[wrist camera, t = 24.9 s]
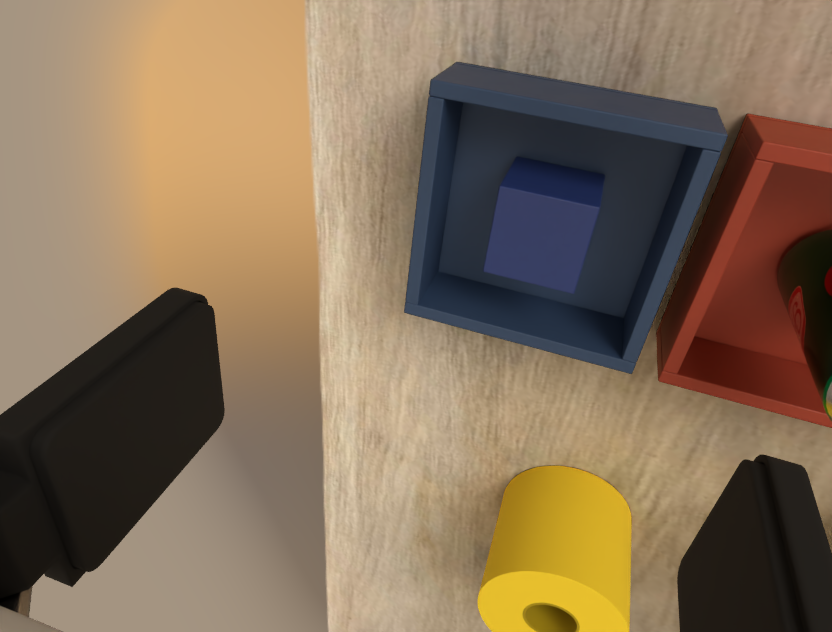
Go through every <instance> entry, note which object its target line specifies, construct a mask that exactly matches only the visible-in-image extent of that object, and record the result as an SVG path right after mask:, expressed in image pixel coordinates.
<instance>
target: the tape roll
mask: <svg viewBox="0 0 832 632" xmlns="http://www.w3.org/2000/svg"><path fill="white" fill-rule="evenodd" d="M631 525H632V518H631V512H630V509H629V506H628V504H627V502H626V501H625V499H624V498H623V496H622V495H621V494H620V493H619V492H618V491H617V490H616V489H615V488H614V487H613V486H611V485H610V484H609V483H607V482H606V481H604V480H603V479H601V478H599V477H597V476H595V475H593V474H591V473H588V472H586V471H583V470H580V469H576V468H571V467H565V466H541V467H536V468H532V469H529V470H526V471H524V472H522V473H520V474H519V475H517V476H516V477H514V478H513V479H512V480H511V481H510V482H509V484H508V485H507V487H506V489H505V492H504V496H503V500H502V504H501V508H500V512H499V516H498V520H497V524H496V528H495V532H494V536H493V540H492V544H491V548H490V552H489V556H488V560H487V564H486V568H485V572H484V576H483V580H482V584H481V588H480V592H479V596H478V609H479V612H480V615H481V617H482V619H483V620H484V622H485V623H486V625H487V626H488V627H489V628H490V630H491V631H492V632H629V624H630V575H631Z"/></svg>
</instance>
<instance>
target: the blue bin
mask: <svg viewBox="0 0 832 632" xmlns="http://www.w3.org/2000/svg"><path fill="white" fill-rule="evenodd" d="M429 95H430V96H429V98H428V107H427V115H426V124H425V133H424V142H423V151H422V160H421V168H420V177H419V186H418V195H417V204H416V213H415V221H414V230H413V239H412V248H411V257H410V266H409V274H408V283H407V292H406V302H405V309H404V313H408V314H411V315H415V316H419V317H422V318H426V319H430V320H433V321H437V322H441V323H445V324H448V325H452V326H456V327H459V328H463V329H467V330H470V331H474V332H478V333H482V334H485V335H489V336H493V337H496V338H500V339H504V340H507V341H511V342H515V343H518V344H522V345H526V346H530V347H533V348H537V349H541V350H544V351H548V352H552V353H555V354H559V355H563V356H567V357H570V358H574V359H578V360H581V361H585V362H589V363H592V364H596V365H600V366H604V367H607V368H611V369H615V370H618V371H622V372H626V373H629V374H632V372H633V370H634V368H635V365H636V362H637V360H638V357H639V355H640V352H641V350H642V348H643V345H644V343H645V340H646V338H647V335H648V333H649V330H650V328H651V325H652V323H653V320H654V318H655V315H656V313H657V310H658V308H659V305H660V303H661V300H662V298H663V295H664V293H665V291H666V288H667V286H668V283H669V281H670V278H671V276H672V273H673V271H674V268H675V266H676V263H677V261H678V258H679V256H680V253H681V251H682V248H683V246H684V243H685V241H686V239H687V236H688V234H689V231H690V229H691V226H692V224H693V221H694V219H695V216H696V214H697V211H698V209H699V206H700V204H701V201H702V199H703V196H704V194H705V191H706V189H707V186H708V184H709V182H710V179H711V177H712V174H713V172H714V169H715V167H716V164H717V162H718V159H719V157H720V154H721V153H720V151H722V149H723V147H724V144H725V142H726V139H727V137H728V135H727V132H726V130H725V128H724V125H723V123H722V120H721V118H720V116H719V113H718V110H717V108H713V107H708V106H702V105H696V104H691V103H685V102H680V101H674V100H668V99H663V98H657V97H652V96H646V95H641V94H635V93H629V92H624V91H618V90H613V89H607V88H601V87H596V86H590V85H585V84H579V83H573V82H568V81H562V80H557V79H551V78H546V77H540V76H534V75H529V74H523V73H518V72H512V71H506V70H501V69H495V68H490V67H484V66H478V65H473V64H467V63H462V62H456V63H454V64H453V65H452V66H450V67H449V68H447V69H446V70H444V71H443V72H441V73H440V74H439V75H437V76H436V77H434V78H433V79H431V81H430V90H429ZM517 156H518V157H522V158H527V159H532V160H537V161H542V162H546V163H551V164H556V165H561V166H566V167H571V168H575V169H580V170H585V171H590V172H595V173H599V174H604V175H605V180H604V187H603V193H602V199H601V206H600V210H599V214H598V217H597V220H596V224H595V227H594V230H593V234H592V237H591V240H590V243H589V247H588V250H587V253H586V257H585V260H584V263H583V267H582V270H581V273H580V276H579V280H578V283H577V286H576V290H575V293H574V294H571V293H567V292H563V291H559V290H555V289H551V288H547V287H543V286H539V285H535V284H531V283H527V282H523V281H519V280H515V279H511V278H507V277H503V276H498V275H494V274H490V273H486V272H483V267H484V262H485V257H486V252H487V247H488V242H489V236H490V231H491V226H492V221H493V216H494V211H495V206H496V200H497V195H498V190H499V186H500V184H501V183H502V181H503V179H504V177H505V176H506V174H507V172H508V170H509V169H510V167H511V165H512V163H513V162H514V160H515V158H516V157H517Z"/></svg>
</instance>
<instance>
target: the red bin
mask: <svg viewBox="0 0 832 632" xmlns="http://www.w3.org/2000/svg"><path fill="white" fill-rule="evenodd" d="M826 230H832V129H830V128H825V127H819V126H814V125H808V124H803V123H797V122H791V121H786V120H780V119H775V118H769V117H763V116H758V115H752V114H747V115H746V117H745V119H744V122H743V124H742V127H741V129H740V132H739V134H738V136H737V139H736V141H735V144H734V146H733V149H732V151H731V153H730V156H729V158H728V161H727V163H726V165H725V168H724V170H723V173H722V175H721V178H720V180H719V182H718V185H717V187H716V190H715V192H714V195H713V197H712V199H711V202H710V204H709V207H708V209H707V211H706V214H705V216H704V219H703V221H702V224H701V226H700V228H699V231H698V233H697V236H696V238H695V241H694V243H693V245H692V248H691V250H690V253H689V255H688V257H687V260H686V262H685V265H684V267H683V270H682V272H681V274H680V277H679V279H678V282H677V284H676V287H675V289H674V291H673V294H672V296H671V299H670V301H669V303H668V306H667V308H666V311H665V313H664V316H663V318H662V320H661V323H660V325H659V328H658V330H657V333H656V337H657V365H658V381H660V382H664V383H667V384H671V385H675V386H678V387H682V388H686V389H690V390H693V391H697V392H701V393H704V394H708V395H712V396H715V397H719V398H723V399H727V400H730V401H734V402H738V403H741V404H745V405H749V406H752V407H756V408H760V409H764V410H767V411H771V412H775V413H778V414H782V415H786V416H789V417H793V418H797V419H801V420H804V421H808V422H812V423H815V424H819V425H823V426H826V427H830V428H832V421H831V420H830V419H829V417H828V415H827V414H826V412H825V409H824V406H823V404H822V401H821V399H820V396H819V393H818V391H817V388H816V386H815V383H814V380H813V378H812V375H811V372H810V370H809V367H808V365H807V362H806V359H805V357H804V354H803V351H802V349H801V346H800V344H799V341H798V338H797V336H796V333H795V330H794V328H793V325H792V323H791V320H790V317H789V315H788V312H787V309H786V307H785V304H784V302H783V299H782V296H781V294H780V291H779V288H778V285H777V273H778V269H779V266H780V263H781V262H782V260H783V258H784V257H785V255H786V254H787V253H788V252H789V251H790V250H791V249H792V248H793V247H794V246H795V245H796V244H798V243H799V242H800V241H802V240H804V239H805V238H807V237H809V236H811V235H814V234H816V233H819V232H822V231H826Z"/></svg>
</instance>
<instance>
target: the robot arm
mask: <svg viewBox="0 0 832 632" xmlns="http://www.w3.org/2000/svg"><path fill="white" fill-rule="evenodd" d="M223 416H224V401H223V392H222V381H221V372H220V363H219V353H218V344H217V334H216V325H215V315H214V310H213V308H212V306H210V305H208V302H207V299H206V298H205V296H203V295H200V294H197V293H193V292H190V291H187V290H183V289H179V288H171V289H169V290H167V291H166V292H165V293H163V294H162V295H161V296H160V297H158V298H156V299H155V300H154V301H152V302H151V303H150V304H148V305H147V306H146V307H144V308H143V309H142V310H140V311H139V312H138V313H136V314H135V315H134V316H132V317H131V318H130V319H128V320H127V321H126V322H124V323H123V324H122V325H120V326H119V327H118V328H116V329H115V330H114V331H112V332H111V333H110V334H108V335H107V336H106V337H104V338H103V339H102V340H100V341H99V342H97V343H96V344H95V345H93V346H92V347H91V348H89V349H88V350H87V351H85V352H84V353H83V354H81V355H80V356H79V357H77V358H76V359H75V360H73V361H72V362H71V363H69V364H68V365H67V366H65V367H64V368H63V369H61V370H60V371H59V372H57V373H56V374H55V375H53V376H52V377H51V378H49V379H48V380H47V381H45V382H44V383H43V384H41V385H40V386H38V387H37V388H36V389H34V390H33V391H32V392H30V393H29V394H28V395H26V396H25V397H24V398H22V399H21V400H20V401H18V402H17V403H16V404H15V405H13V406H12V407H11V408H9V409H8V410H6V411H5V412H4V413H2V414H1V415H0V632H62V631H60V630H57V629H56V628H53V627H51V626H48V625H46V624H44V623H41V622H39V621H36V620H34V619H31V618H29V611H30V602H31V592H32V586H33V585H34V584H35V582H36V581H37V580H38V579H39V578H40V577H41V576H42V575H43V574H45V576H47V577H49V578H52V579H54V580H57V581H59V582H61V583H64V584H66V585H69V586H71V587H73V585H75V583H76V582H77V581H78V580H79V579H80V578H81V576H82V575H83V574H84V573H85V572H86V571H87V572H90V571H93V570H95V569H96V568H98V567H99V566H100V565H101V564H102V563H103V561H104V560H105V559H106V558H107V557H108V555H110V553H111V552H112V551H113V550H114V549H115V548H116V546H117V545H118V544H119V543H120V542H121V541H122V539H123V538H124V537H125V536H126V535H127V534H128V532H129V531H130V530H131V529H132V528H133V527H134V526H135V524H136V523H137V522H138V521H139V520H140V519H141V517H142V516H143V515H144V514H145V513H146V512H147V510H148V509H149V508H150V507H151V506H152V504H153V503H154V502H155V501H156V500H157V499H158V498H159V497H160V495H161V494H162V493H163V492H164V491H165V490H166V488H167V487H168V486H169V485H170V483H172V481H173V480H174V479H175V478H176V477H177V476H178V474H179V473H180V472H181V471H182V470H183V469H184V467H185V466H186V465H187V464H188V463H189V462H190V460H191V459H192V458H193V457H194V456H195V455H196V454H197V452H198V451H199V450H200V449H201V448H202V447H203V445H204V444H205V443H206V442H207V441H208V440H209V438H210V437H211V436H212V435H213V434H214V433H215V432H216V430H217V429H218V428H219V426H220V424H221V423H222V420H223ZM678 602H679V621H680V632H832V553H831V550H830V546H829V543H828V540H827V536H826V533H825V530H824V527H823V523H822V520H821V517H820V514H819V510H818V507H817V504H816V500H815V497H814V494H813V491H812V487H811V484H810V481H809V478H808V474H807V472H806V470H805V468H804V467H803V466H801V465H798V464H795V463H791V462H788V461H784V460H781V459H777V458H774V457H770V456H767V455H759V456H758V457H756V458H755V460H754V461H750V460H743V461H742V462H741V463H740V464H739V466H738V468H737V469H736V471H735V473H734V474H733V476H732V478H731V479H730V481H729V483H728V484H727V486H726V487H725V489H724V491H723V492H722V494H721V496H720V497H719V499H718V501H717V502H716V504H715V506H714V507H713V509H712V511H711V512H710V514H709V516H708V517H707V519H706V521H705V522H704V524H703V526H702V527H701V529H700V530H699V532H698V534H697V535H696V537H695V539H694V540H693V542H692V544H691V545H690V547H689V549H688V550H687V552H686V554H685V555H684V557H683V559H682V561H681V563H680V566H679V571H678Z"/></svg>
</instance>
